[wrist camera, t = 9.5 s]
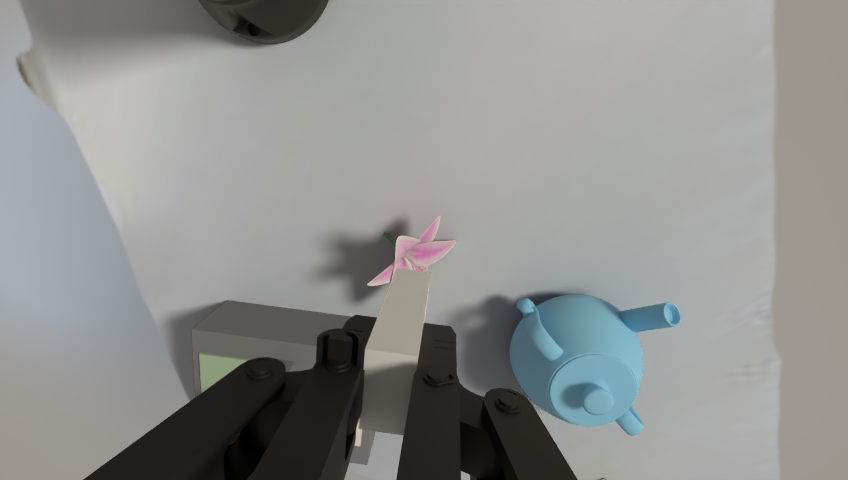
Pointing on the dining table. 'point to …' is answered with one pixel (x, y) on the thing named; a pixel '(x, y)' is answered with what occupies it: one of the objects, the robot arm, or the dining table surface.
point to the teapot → (585, 357)
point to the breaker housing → (263, 346)
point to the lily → (415, 253)
